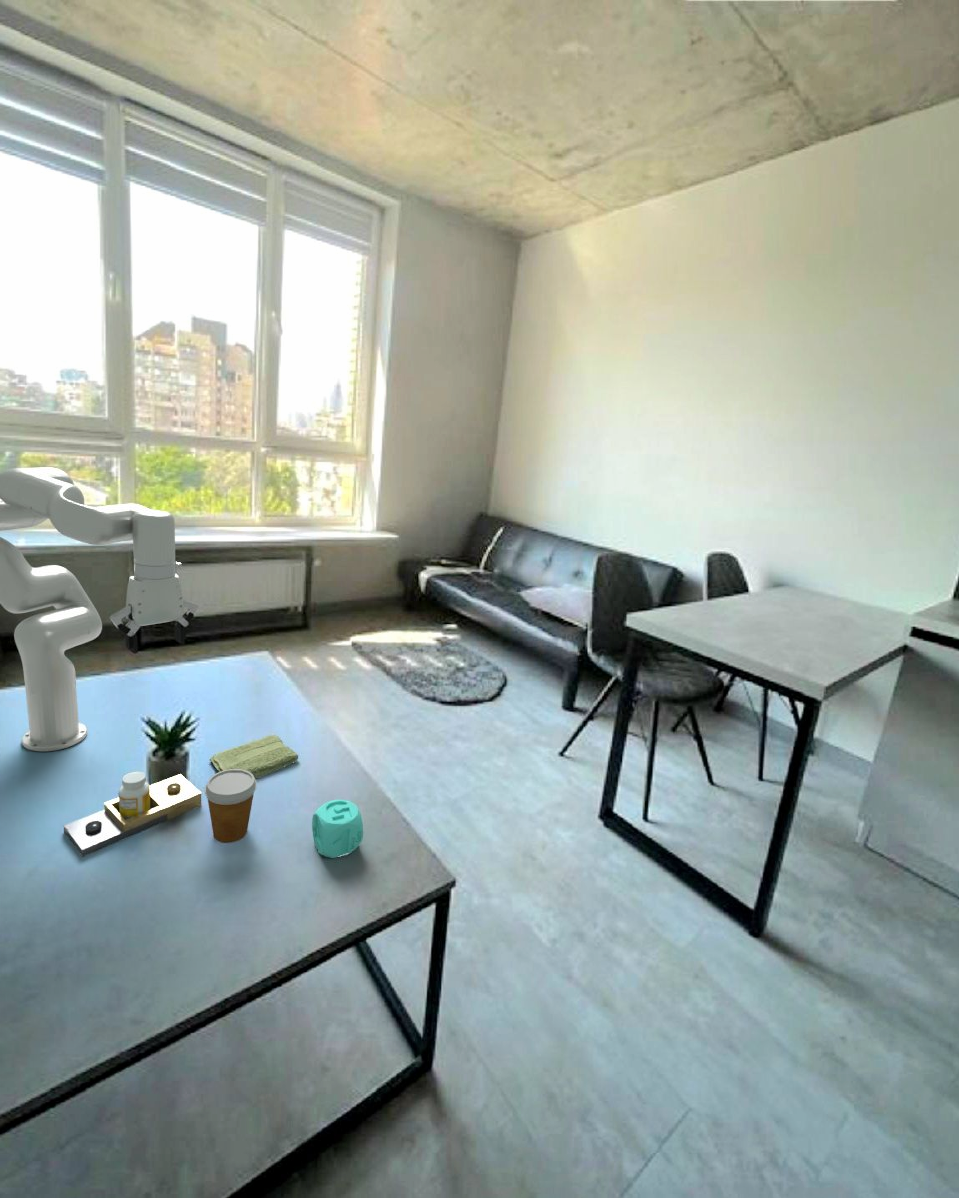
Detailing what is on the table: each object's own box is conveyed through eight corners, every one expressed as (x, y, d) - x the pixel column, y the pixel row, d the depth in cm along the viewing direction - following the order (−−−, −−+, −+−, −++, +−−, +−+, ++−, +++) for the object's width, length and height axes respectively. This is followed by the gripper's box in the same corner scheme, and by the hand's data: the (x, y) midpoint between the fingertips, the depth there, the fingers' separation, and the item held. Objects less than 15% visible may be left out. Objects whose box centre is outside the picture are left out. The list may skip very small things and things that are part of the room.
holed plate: (64, 832, 109) (62, 814, 108) (180, 786, 126) (180, 770, 125) (82, 856, 104) (81, 838, 103) (201, 805, 121) (201, 789, 120)
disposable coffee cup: (265, 826, 118) (267, 776, 115) (232, 855, 109) (233, 802, 106) (228, 811, 121) (229, 762, 117) (193, 839, 112) (192, 786, 109)
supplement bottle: (125, 830, 112) (123, 788, 109) (115, 817, 115) (113, 776, 112) (155, 819, 116) (153, 778, 113) (144, 806, 119) (142, 766, 116)
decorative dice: (322, 863, 110) (324, 828, 108) (310, 837, 117) (312, 804, 115) (361, 852, 115) (364, 818, 112) (348, 827, 121) (351, 795, 119)
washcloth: (206, 763, 137) (206, 751, 136) (275, 741, 149) (275, 730, 148) (230, 790, 128) (230, 777, 127) (301, 764, 141) (302, 753, 140)
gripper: (187, 562, 128) (188, 633, 132) (100, 570, 114) (105, 649, 119) (205, 570, 123) (205, 643, 128) (117, 579, 110) (120, 661, 114)
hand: (157, 646), depth 123 cm, fingers open, 9 cm apart
